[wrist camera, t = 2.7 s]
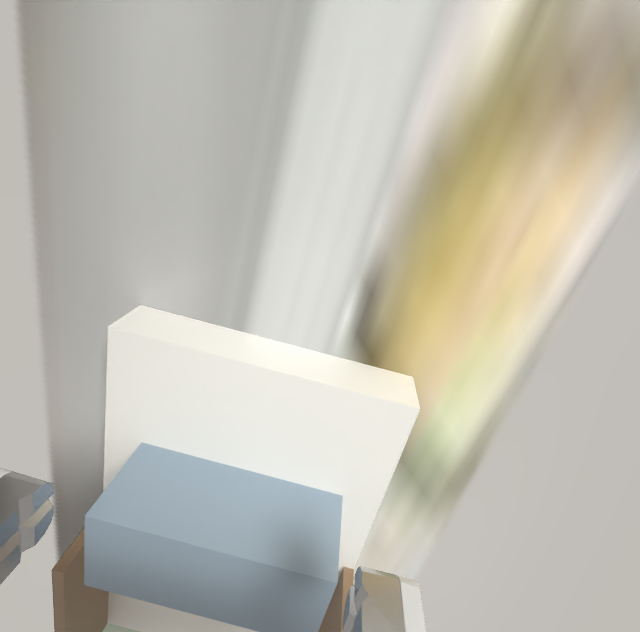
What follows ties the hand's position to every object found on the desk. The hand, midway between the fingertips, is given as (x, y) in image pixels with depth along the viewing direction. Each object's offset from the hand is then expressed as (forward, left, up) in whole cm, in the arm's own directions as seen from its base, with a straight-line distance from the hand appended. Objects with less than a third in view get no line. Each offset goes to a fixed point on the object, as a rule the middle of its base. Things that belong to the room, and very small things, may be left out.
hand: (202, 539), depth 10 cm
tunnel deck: (+14, +6, -9) cm, 18 cm away
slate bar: (+6, +2, -7) cm, 9 cm away
